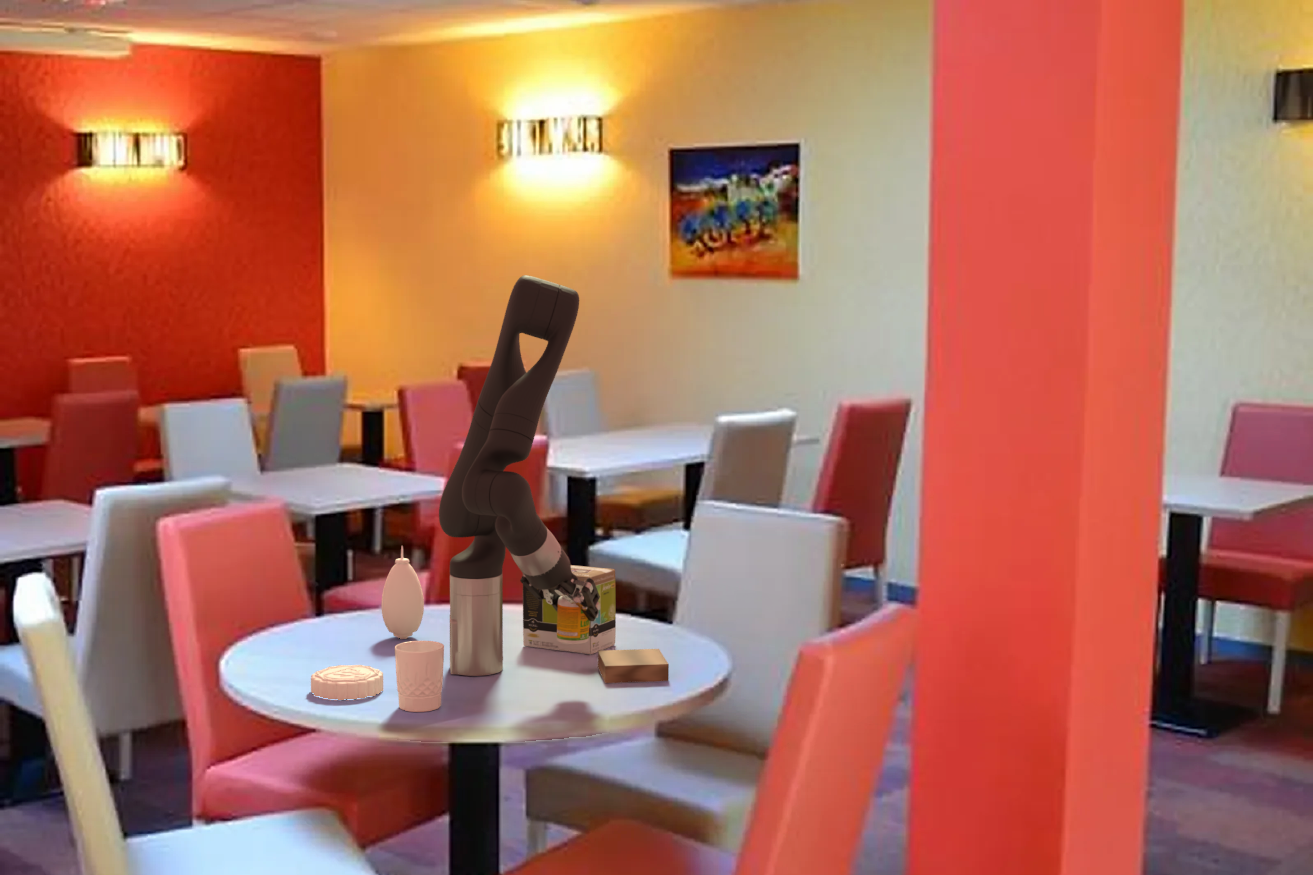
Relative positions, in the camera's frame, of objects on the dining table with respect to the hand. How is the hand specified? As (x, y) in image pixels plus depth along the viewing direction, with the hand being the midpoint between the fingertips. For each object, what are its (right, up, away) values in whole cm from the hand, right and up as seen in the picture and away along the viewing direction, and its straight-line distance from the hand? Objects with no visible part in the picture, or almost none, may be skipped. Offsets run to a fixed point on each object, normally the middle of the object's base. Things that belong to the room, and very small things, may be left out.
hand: (579, 613), depth 267 cm
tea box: (-3, -10, +31) cm, 32 cm away
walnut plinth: (+9, -12, +10) cm, 18 cm away
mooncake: (-39, -13, -2) cm, 41 cm away
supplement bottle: (-1, -5, -1) cm, 5 cm away
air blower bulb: (-35, -9, +36) cm, 51 cm away
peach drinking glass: (-25, -14, -11) cm, 31 cm away
